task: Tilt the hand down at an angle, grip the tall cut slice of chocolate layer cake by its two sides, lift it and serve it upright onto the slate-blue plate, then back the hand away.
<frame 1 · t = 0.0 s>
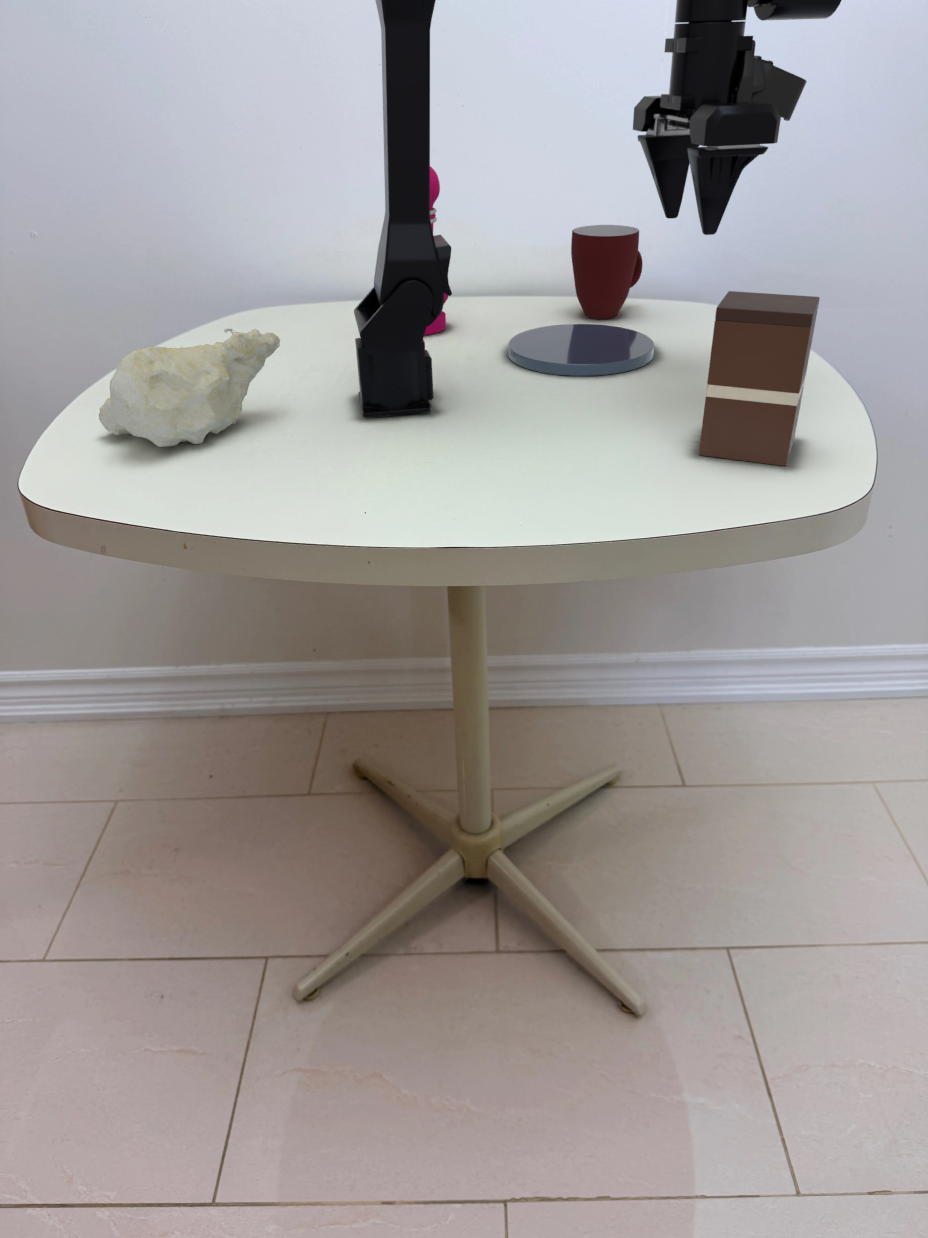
hand: (689, 225, 83), 15 cm above the table, tool pointing down, fingers open, 9 cm apart
white seashell: (203, 430, 83), on the table
cake slice: (746, 448, 76), on the table
mug: (606, 314, 114), on the table
plate: (580, 353, 100), on the table
pepper mill: (420, 330, 110), on the table
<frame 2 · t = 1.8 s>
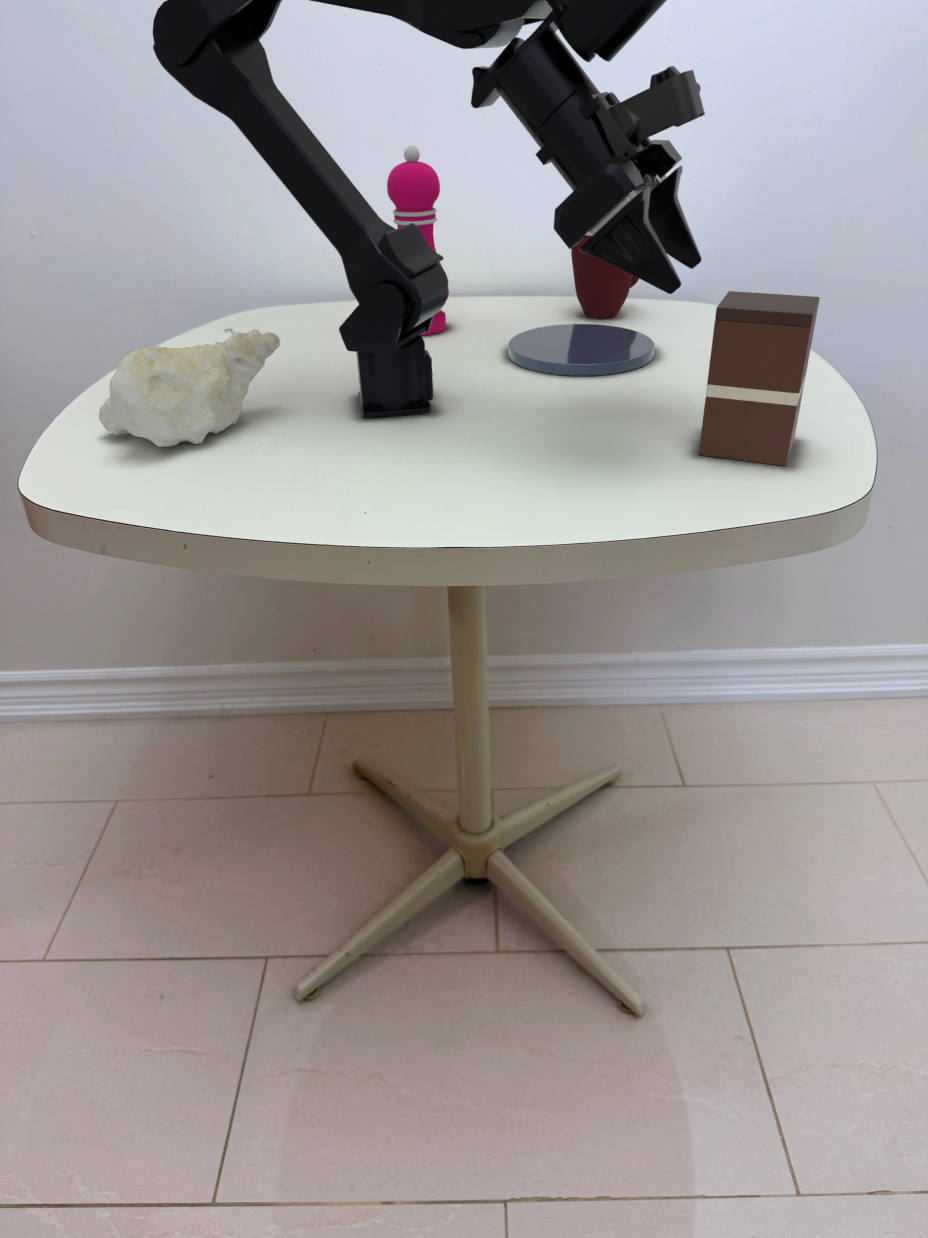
hand: (687, 276, 71), 13 cm above the table, tool tilted 45°, fingers open, 9 cm apart
nothing on the table moved.
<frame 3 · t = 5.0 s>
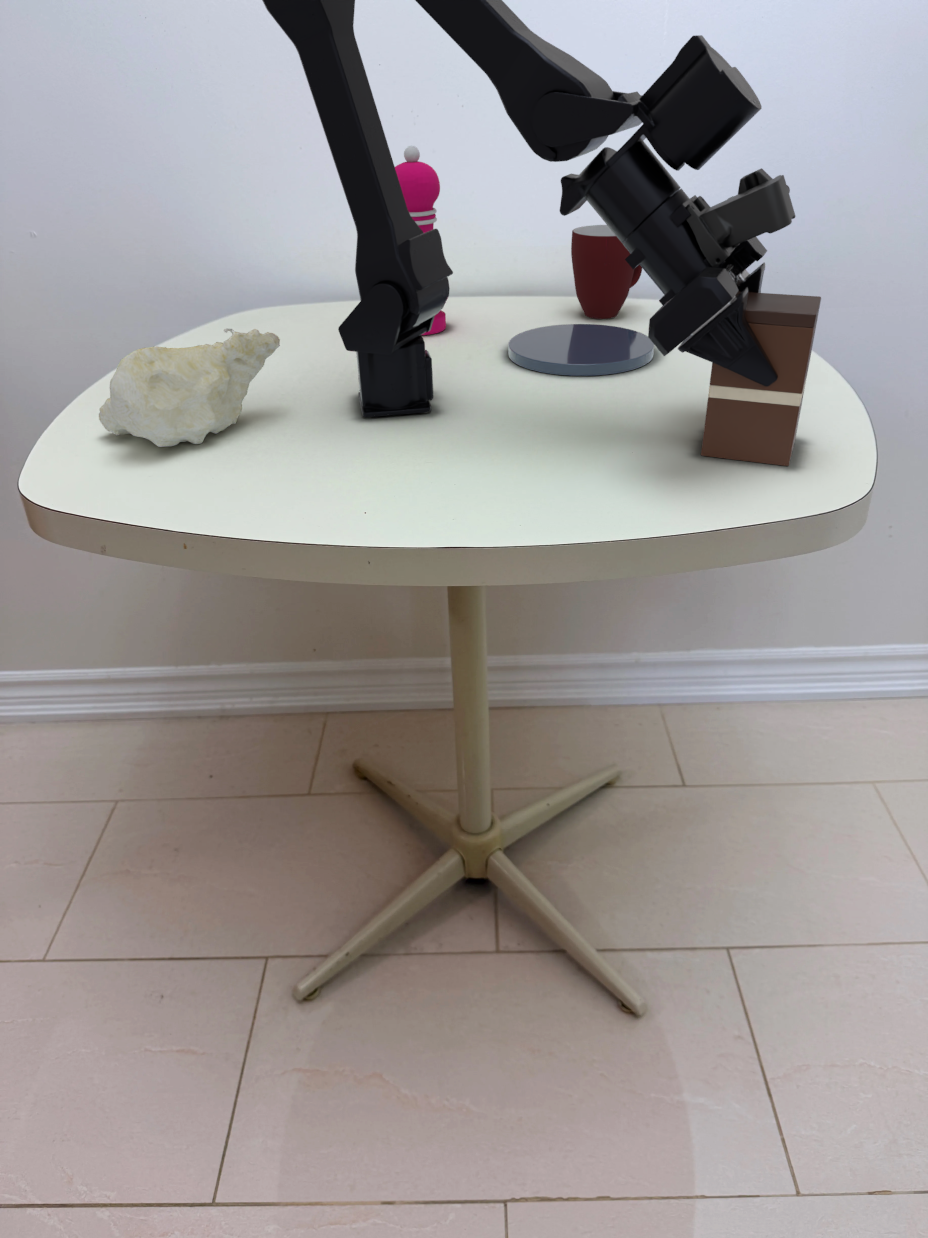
hand: (777, 371, 71), 7 cm above the table, tool tilted 45°, fingers closed on cake slice, 5 cm apart
cake slice: (748, 448, 76), on the table, touching gripper
everything else where it was.
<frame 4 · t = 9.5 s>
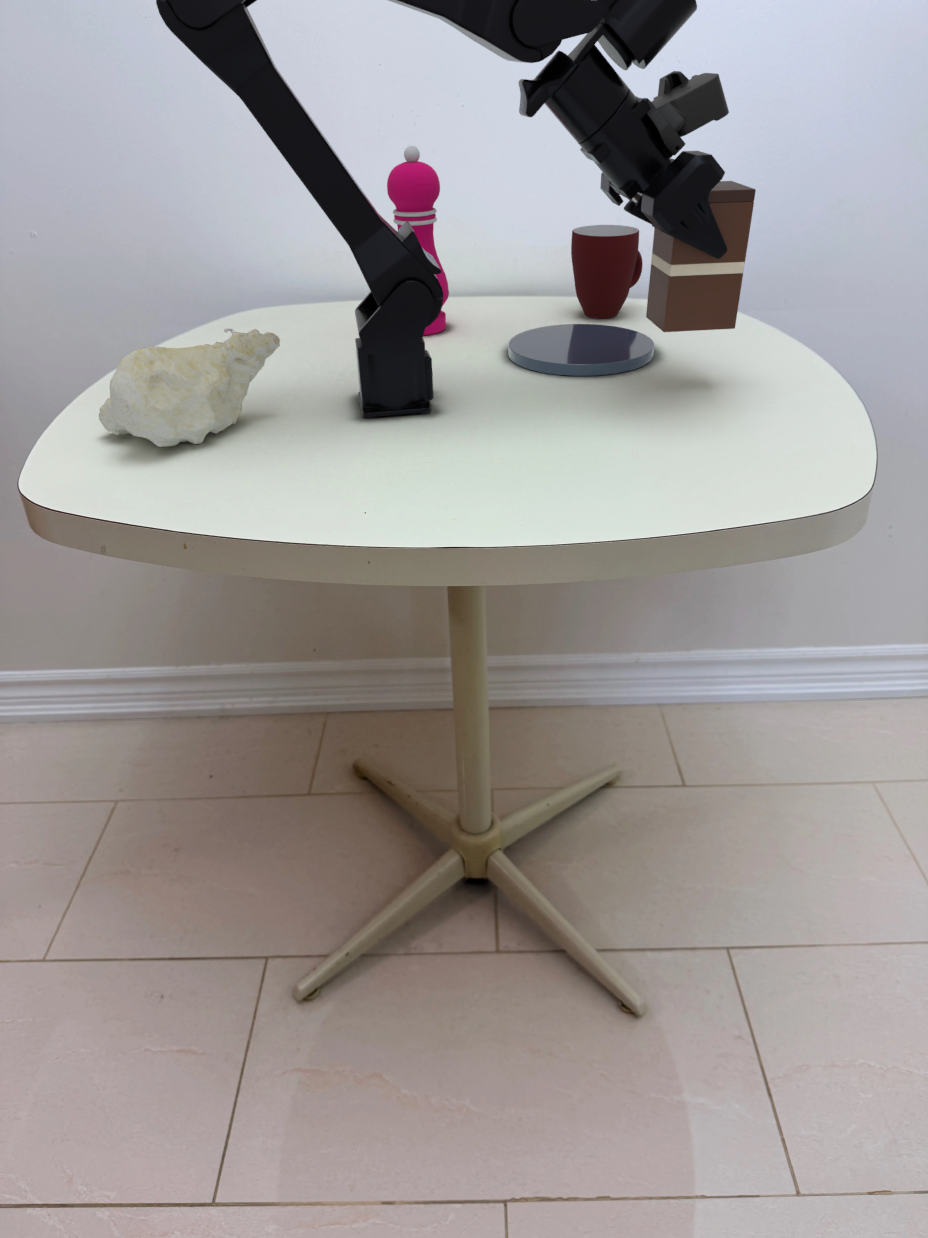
hand: (712, 248, 83), 13 cm above the table, tool tilted 45°, fingers closed on cake slice, 5 cm apart
cake slice: (689, 322, 87), point 6 cm above the table, touching gripper
everything else where it was.
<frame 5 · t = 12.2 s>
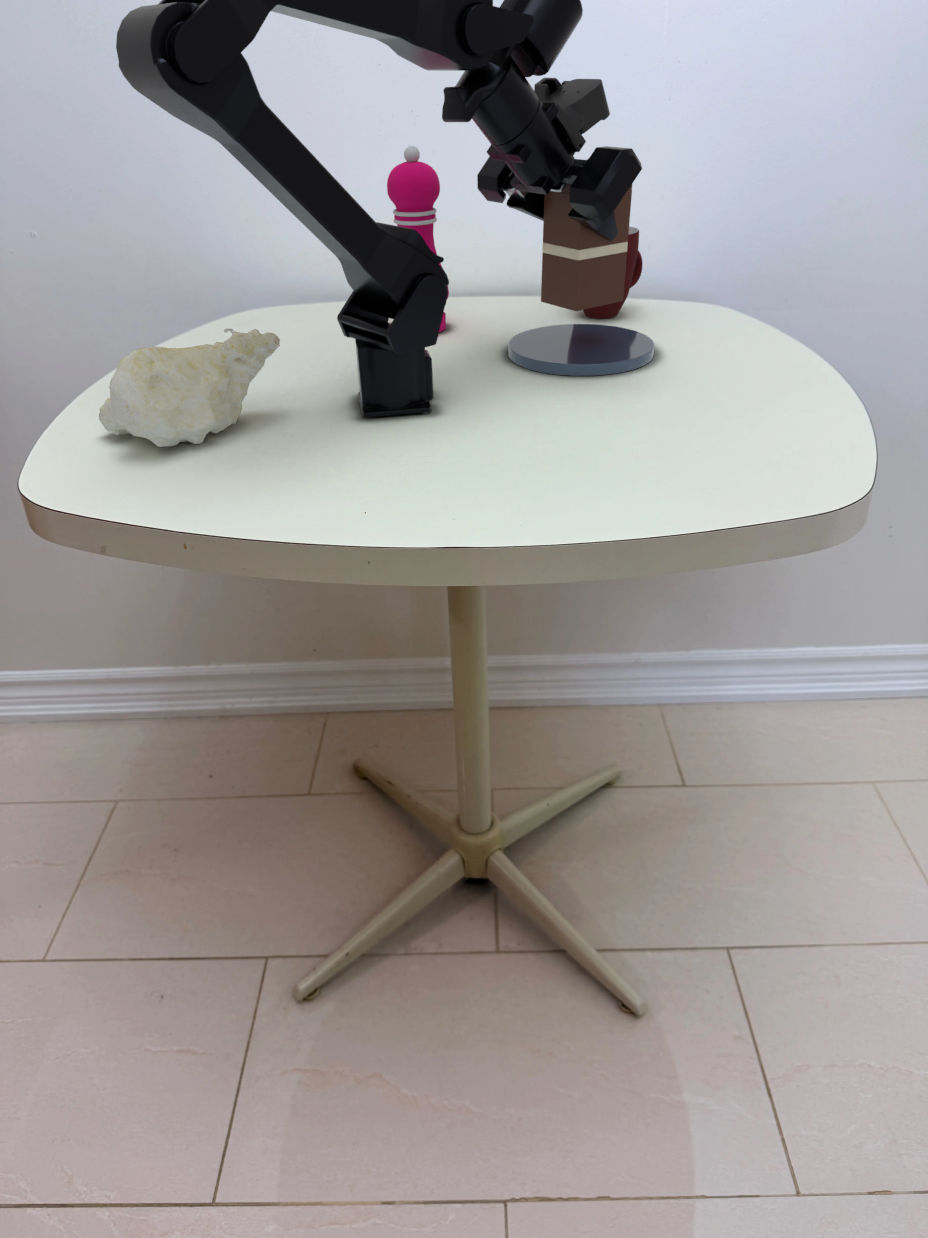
hand: (594, 233, 94), 12 cm above the table, tool tilted 45°, fingers closed on cake slice, 5 cm apart
cake slice: (581, 301, 97), point 6 cm above the table, touching gripper
everything else where it was.
when the fingers open (8 cm above the table, at t = 14.3 s): cake slice stays where it is, resting on plate.
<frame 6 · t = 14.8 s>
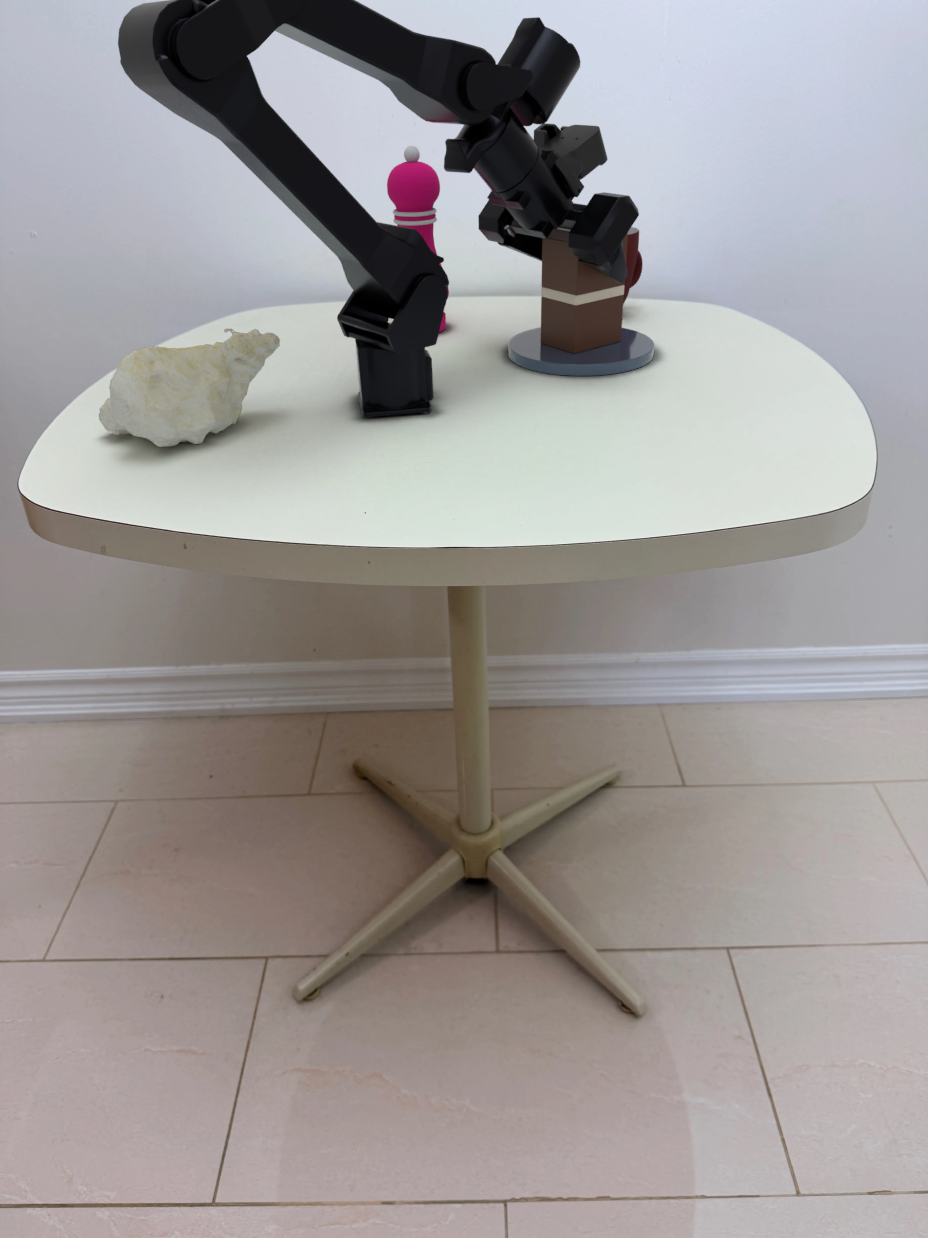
hand: (593, 272, 96), 8 cm above the table, tool tilted 45°, fingers open, 9 cm apart
cake slice: (580, 342, 99), point 1 cm above the table, touching plate
everything else where it was.
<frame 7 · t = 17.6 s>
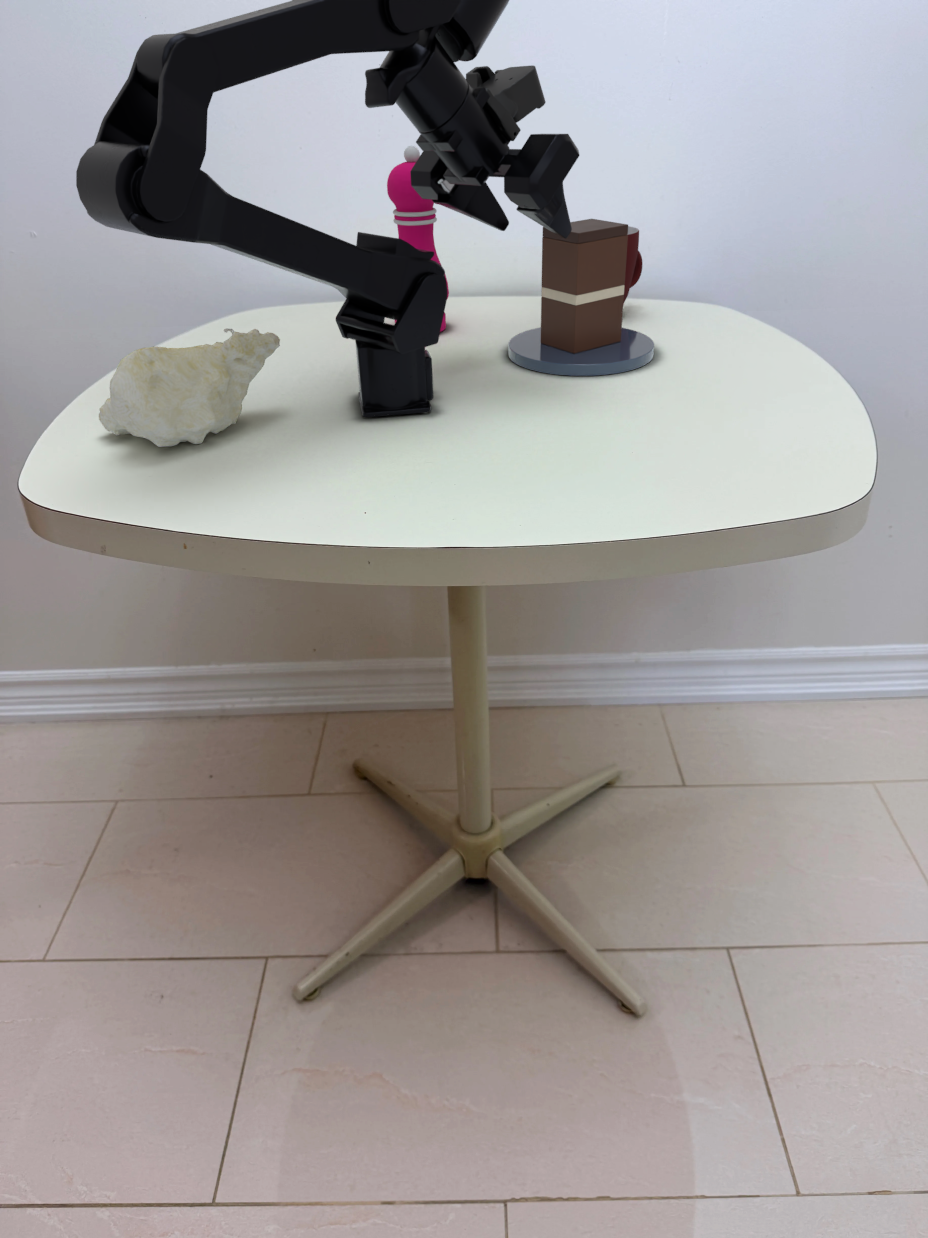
hand: (535, 230, 89), 14 cm above the table, tool tilted 45°, fingers open, 9 cm apart
nothing on the table moved.
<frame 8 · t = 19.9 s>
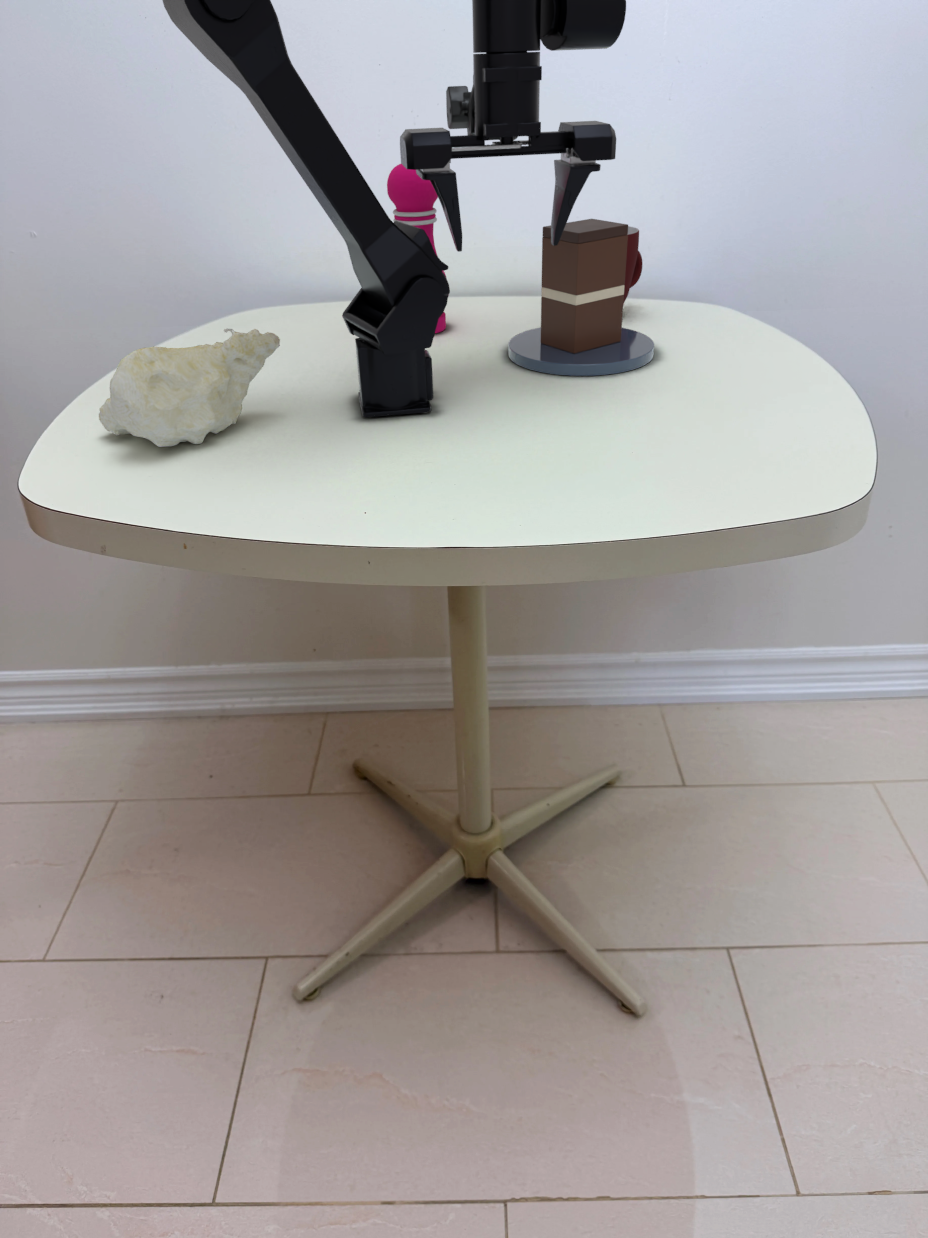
hand: (507, 247, 85), 13 cm above the table, tool pointing down, fingers open, 9 cm apart
nothing on the table moved.
at the end: cake slice inside the target area on the plate (0.1 cm from its centre), point 1.2 cm above the plate's base; cake slice tilted 0°; the gripper is holding nothing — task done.
